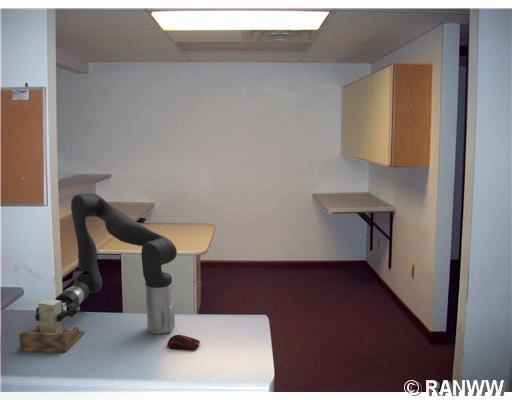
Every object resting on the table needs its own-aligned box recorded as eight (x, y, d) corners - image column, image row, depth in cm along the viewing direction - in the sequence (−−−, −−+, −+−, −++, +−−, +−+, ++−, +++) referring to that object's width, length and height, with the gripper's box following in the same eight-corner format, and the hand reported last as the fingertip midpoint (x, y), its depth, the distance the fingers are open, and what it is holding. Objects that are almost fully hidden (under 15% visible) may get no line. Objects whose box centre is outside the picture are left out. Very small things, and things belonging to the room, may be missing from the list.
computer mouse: (196, 352, 164) (196, 341, 163) (164, 349, 166) (164, 338, 165) (201, 343, 170) (201, 332, 169) (170, 341, 172) (170, 330, 171)
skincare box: (40, 336, 169) (37, 302, 167) (48, 331, 173) (46, 298, 171) (55, 339, 167) (52, 305, 165) (64, 333, 172) (61, 300, 169)
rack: (84, 333, 177) (83, 317, 176) (65, 352, 163) (64, 335, 162) (40, 331, 178) (39, 316, 177) (19, 350, 164) (17, 333, 163)
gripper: (50, 289, 183) (25, 307, 167) (88, 290, 182) (67, 309, 166) (51, 308, 184) (27, 328, 168) (89, 309, 183) (68, 330, 167)
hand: (47, 318), depth 167 cm, fingers closed on skincare box, 6 cm apart
